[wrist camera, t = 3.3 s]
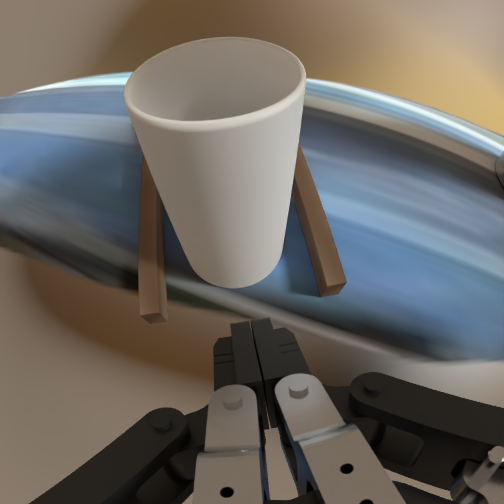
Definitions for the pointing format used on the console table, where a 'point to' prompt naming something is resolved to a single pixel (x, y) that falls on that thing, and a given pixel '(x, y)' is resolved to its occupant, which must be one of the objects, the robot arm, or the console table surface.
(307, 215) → the bay
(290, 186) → the cup
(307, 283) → the console table surface
